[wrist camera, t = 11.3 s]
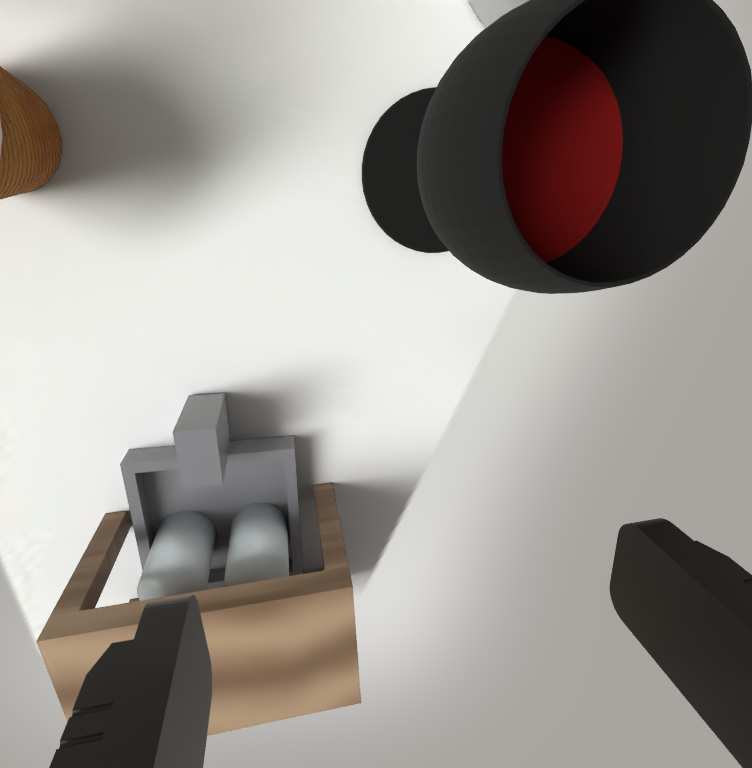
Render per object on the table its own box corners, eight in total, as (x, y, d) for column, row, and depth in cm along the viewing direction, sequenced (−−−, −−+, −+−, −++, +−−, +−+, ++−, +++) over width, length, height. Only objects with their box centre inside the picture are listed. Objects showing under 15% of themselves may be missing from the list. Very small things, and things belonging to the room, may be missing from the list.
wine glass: (535, 151, 34) (836, 96, 16) (451, 280, 36) (632, 364, 18) (416, 50, 31) (626, -171, 12) (331, 199, 33) (402, 200, 14)
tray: (119, 397, 35) (85, 442, 29) (290, 386, 37) (293, 425, 31) (155, 576, 41) (133, 647, 34) (301, 557, 43) (306, 621, 36)
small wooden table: (105, 513, 38) (36, 641, 27) (331, 482, 40) (352, 586, 30) (133, 613, 41) (83, 761, 30) (340, 578, 44) (361, 702, 33)
